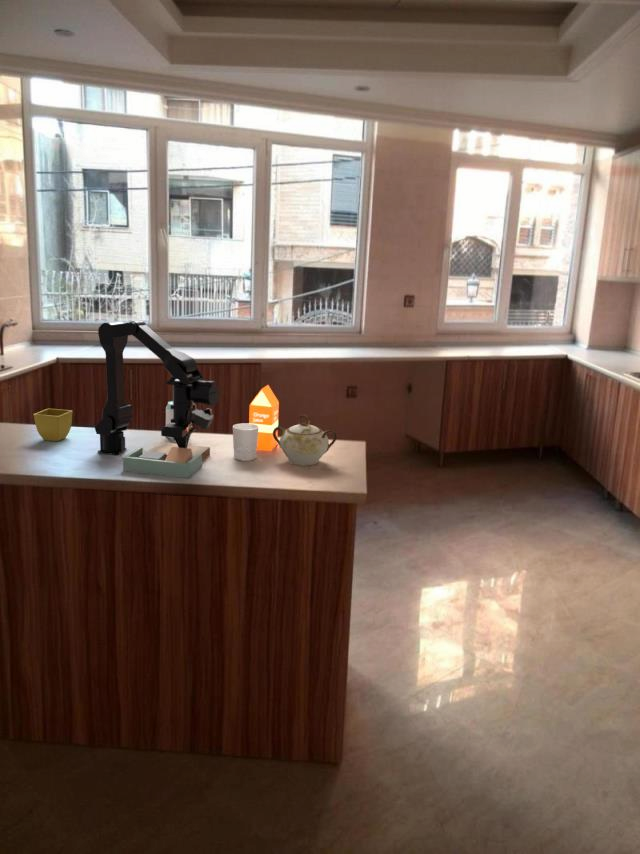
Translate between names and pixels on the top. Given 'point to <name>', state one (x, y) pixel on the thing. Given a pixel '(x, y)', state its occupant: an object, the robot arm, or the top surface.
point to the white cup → (245, 441)
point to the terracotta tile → (179, 455)
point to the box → (160, 465)
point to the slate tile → (153, 455)
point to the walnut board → (166, 447)
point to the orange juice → (265, 418)
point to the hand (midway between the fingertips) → (183, 452)
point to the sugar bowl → (304, 442)
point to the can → (169, 414)
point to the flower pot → (53, 423)
